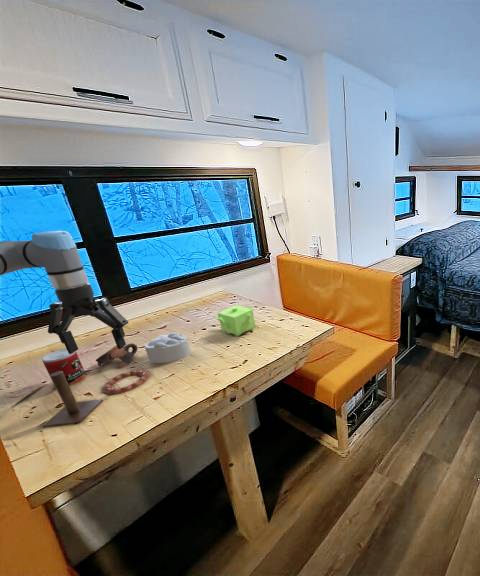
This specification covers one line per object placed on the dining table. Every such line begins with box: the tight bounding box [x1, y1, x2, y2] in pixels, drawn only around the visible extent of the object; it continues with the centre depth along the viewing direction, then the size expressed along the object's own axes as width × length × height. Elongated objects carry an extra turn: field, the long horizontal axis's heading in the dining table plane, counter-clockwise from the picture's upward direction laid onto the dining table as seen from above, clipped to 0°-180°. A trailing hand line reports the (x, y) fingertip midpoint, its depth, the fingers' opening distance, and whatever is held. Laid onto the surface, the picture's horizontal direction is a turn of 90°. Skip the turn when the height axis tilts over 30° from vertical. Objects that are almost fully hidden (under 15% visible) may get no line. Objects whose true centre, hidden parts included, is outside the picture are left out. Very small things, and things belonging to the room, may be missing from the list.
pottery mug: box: [95, 342, 138, 369], centre depth 112 cm, size 12×10×8 cm
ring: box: [102, 369, 149, 396], centre depth 100 cm, size 12×12×2 cm
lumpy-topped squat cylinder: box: [144, 331, 192, 364], centre depth 114 cm, size 10×13×9 cm
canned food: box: [41, 348, 87, 387], centre depth 100 cm, size 8×8×11 cm
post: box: [42, 371, 104, 428], centre depth 85 cm, size 9×9×14 cm
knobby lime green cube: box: [214, 305, 256, 337], centre depth 132 cm, size 15×14×11 cm
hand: (98, 349), depth 95 cm, fingers open, 13 cm apart
